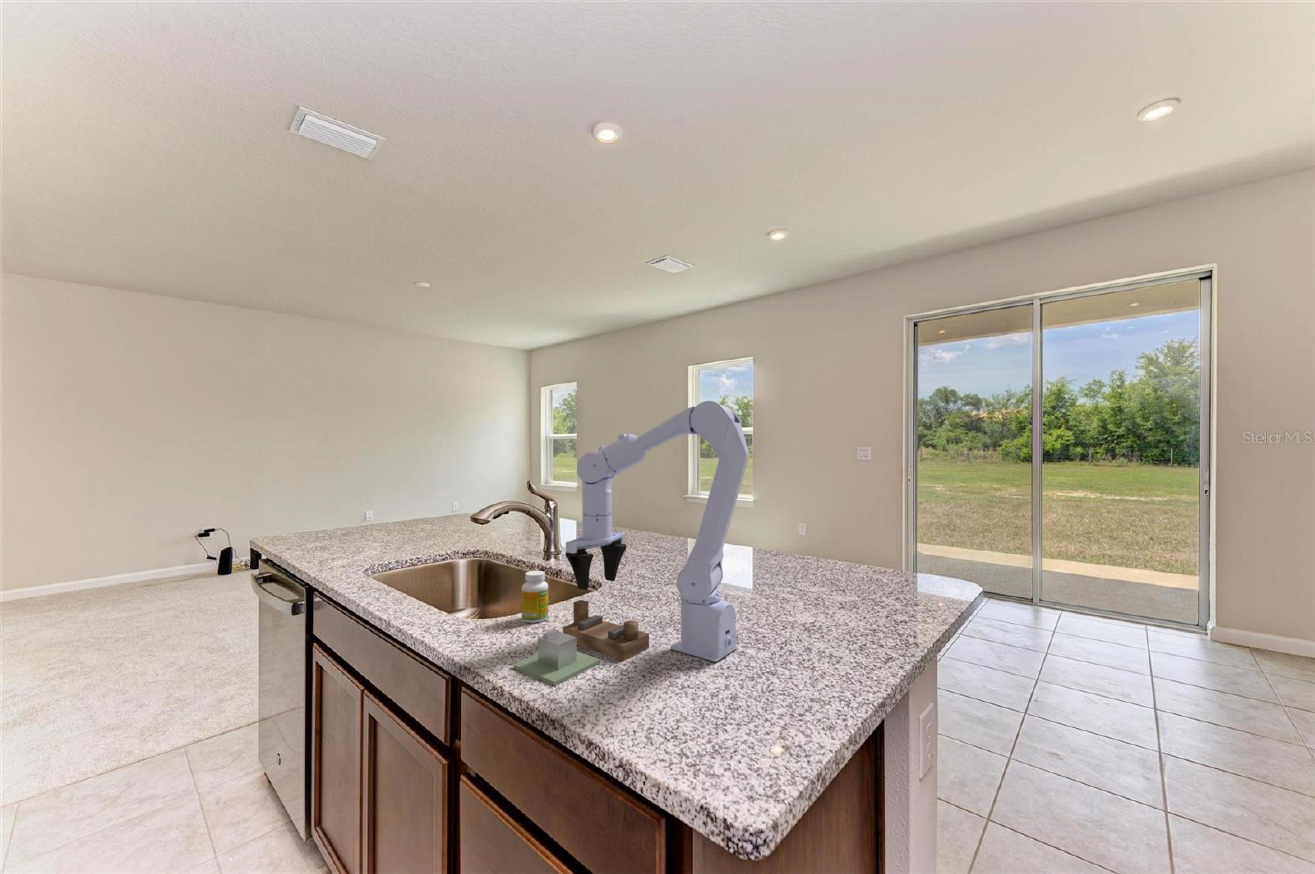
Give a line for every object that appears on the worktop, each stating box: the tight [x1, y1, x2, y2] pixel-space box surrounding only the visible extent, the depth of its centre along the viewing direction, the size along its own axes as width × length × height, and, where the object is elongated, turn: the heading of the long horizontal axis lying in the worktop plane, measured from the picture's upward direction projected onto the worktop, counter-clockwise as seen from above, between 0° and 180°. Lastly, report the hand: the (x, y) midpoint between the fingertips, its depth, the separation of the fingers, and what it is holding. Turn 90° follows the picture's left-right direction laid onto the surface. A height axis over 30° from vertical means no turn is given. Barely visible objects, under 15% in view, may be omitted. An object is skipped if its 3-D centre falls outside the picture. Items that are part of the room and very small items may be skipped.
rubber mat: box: [512, 651, 601, 687], centre depth 83 cm, size 10×10×1 cm
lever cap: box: [537, 628, 578, 670], centre depth 83 cm, size 5×4×5 cm
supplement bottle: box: [521, 570, 549, 624], centre depth 105 cm, size 5×5×10 cm
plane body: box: [562, 599, 650, 662], centre depth 92 cm, size 15×7×6 cm, turn 53°
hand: (596, 584), depth 97 cm, fingers open, 7 cm apart
